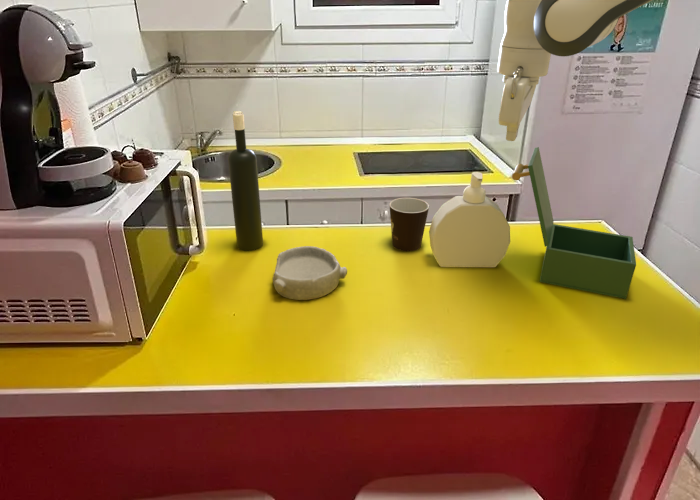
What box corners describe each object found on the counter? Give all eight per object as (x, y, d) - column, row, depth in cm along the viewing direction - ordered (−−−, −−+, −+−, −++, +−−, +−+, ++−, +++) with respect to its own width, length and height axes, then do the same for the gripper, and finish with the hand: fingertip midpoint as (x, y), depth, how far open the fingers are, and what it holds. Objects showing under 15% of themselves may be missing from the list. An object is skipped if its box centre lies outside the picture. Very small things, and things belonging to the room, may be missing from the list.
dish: (278, 308, 95) (277, 285, 92) (264, 272, 106) (263, 250, 104) (353, 295, 99) (354, 272, 97) (332, 261, 110) (332, 240, 108)
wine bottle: (232, 249, 115) (217, 113, 101) (246, 239, 120) (233, 107, 106) (254, 254, 113) (242, 116, 99) (268, 243, 118) (258, 110, 104)
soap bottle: (429, 269, 108) (438, 178, 99) (426, 256, 113) (434, 169, 103) (506, 269, 108) (522, 178, 99) (500, 257, 113) (514, 169, 104)
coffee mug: (420, 257, 112) (423, 215, 108) (382, 250, 115) (384, 209, 110) (432, 236, 122) (436, 196, 117) (397, 230, 125) (399, 191, 120)
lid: (538, 146, 104) (515, 151, 107) (532, 165, 94) (506, 170, 96) (553, 221, 110) (531, 224, 112) (549, 246, 99) (524, 249, 102)
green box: (622, 270, 108) (632, 236, 105) (625, 300, 98) (636, 264, 94) (544, 255, 114) (551, 223, 110) (539, 283, 103) (546, 248, 100)
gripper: (536, 73, 84) (521, 156, 90) (546, 57, 100) (533, 128, 107) (496, 70, 86) (485, 151, 92) (512, 55, 103) (502, 125, 109)
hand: (511, 139), depth 100 cm, fingers closed
